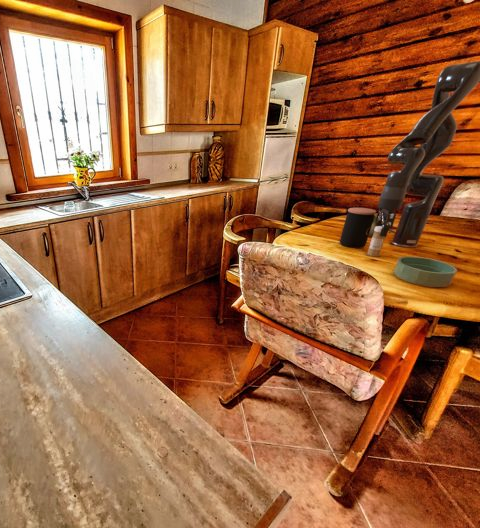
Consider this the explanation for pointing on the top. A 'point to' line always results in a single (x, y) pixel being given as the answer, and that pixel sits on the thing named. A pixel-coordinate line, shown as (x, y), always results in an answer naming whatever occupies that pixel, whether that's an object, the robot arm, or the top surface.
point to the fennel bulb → (373, 227)
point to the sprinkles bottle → (376, 242)
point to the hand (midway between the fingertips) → (379, 233)
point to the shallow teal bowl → (425, 271)
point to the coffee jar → (357, 227)
